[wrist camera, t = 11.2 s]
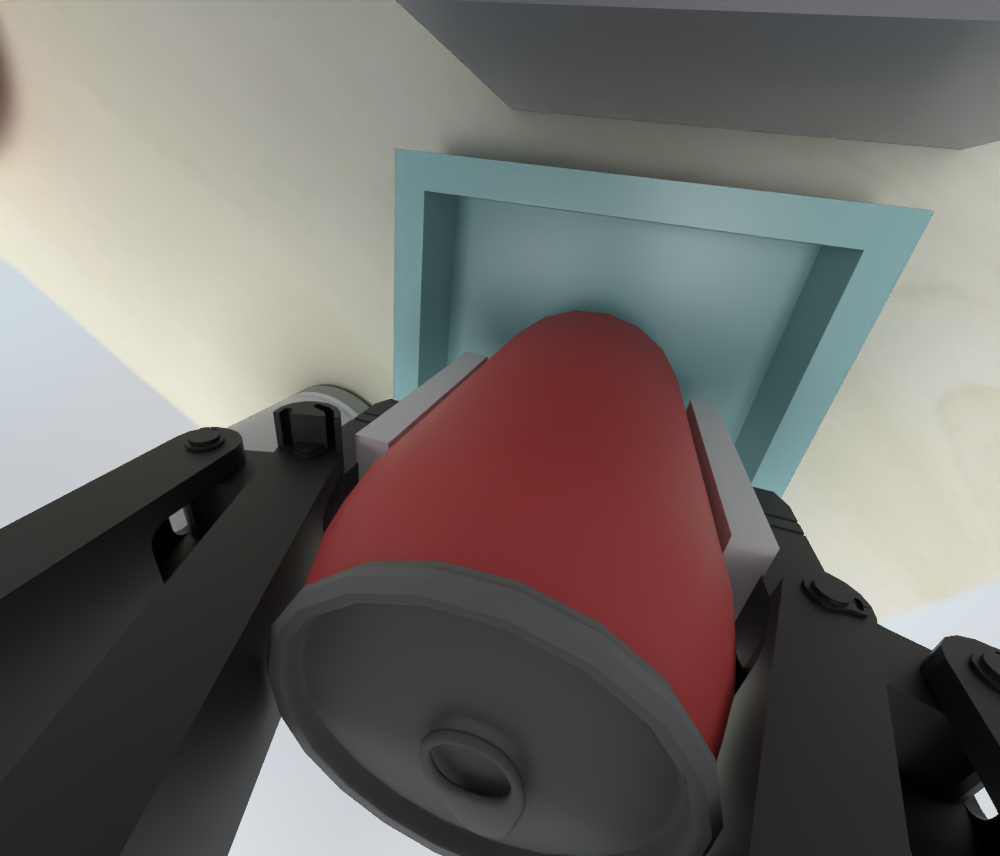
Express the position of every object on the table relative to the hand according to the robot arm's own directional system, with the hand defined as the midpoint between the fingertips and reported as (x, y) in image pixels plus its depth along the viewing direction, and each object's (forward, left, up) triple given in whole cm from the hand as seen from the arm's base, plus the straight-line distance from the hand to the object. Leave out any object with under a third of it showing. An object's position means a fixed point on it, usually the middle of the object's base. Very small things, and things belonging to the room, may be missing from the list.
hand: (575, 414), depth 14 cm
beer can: (0, 0, -2) cm, 2 cm away
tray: (0, 0, -4) cm, 4 cm away
